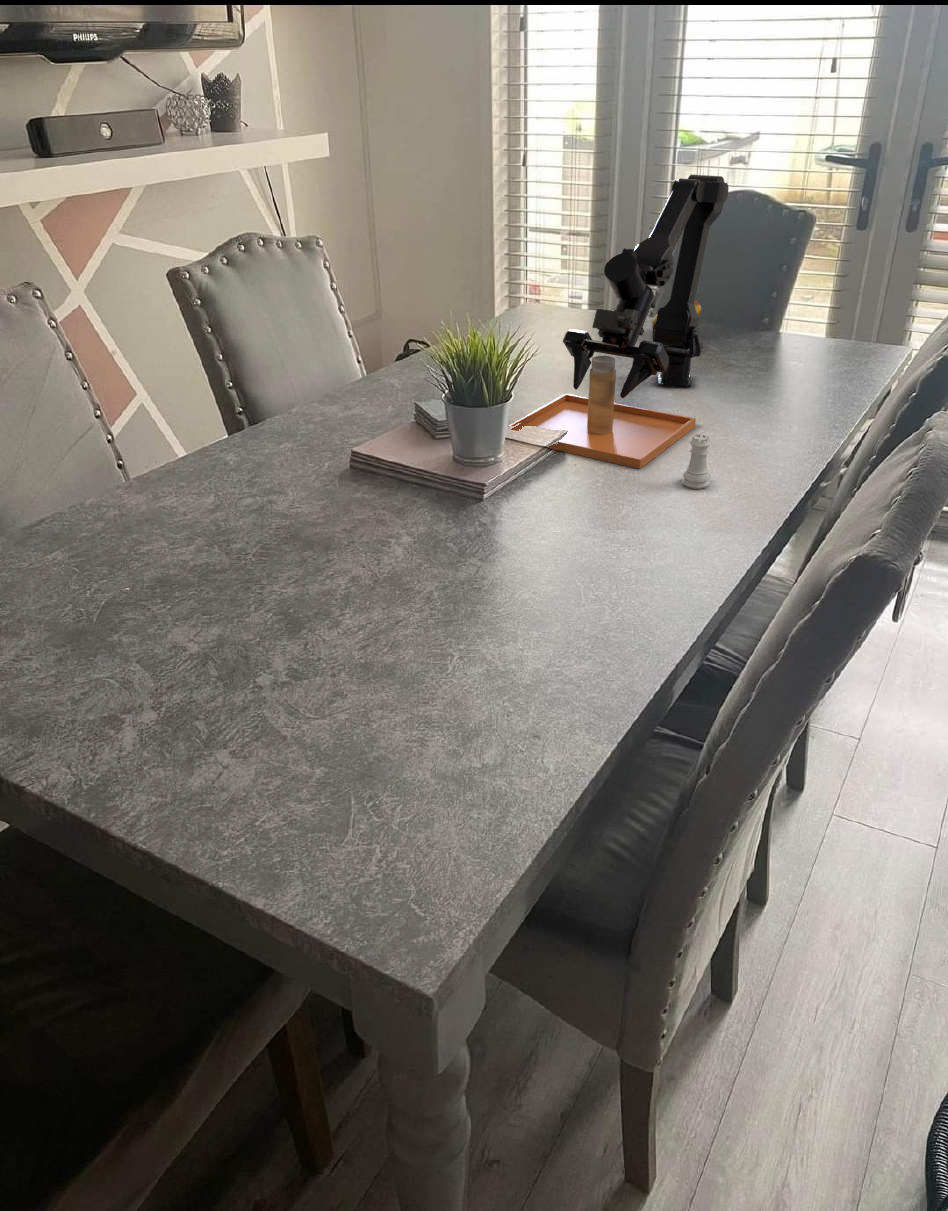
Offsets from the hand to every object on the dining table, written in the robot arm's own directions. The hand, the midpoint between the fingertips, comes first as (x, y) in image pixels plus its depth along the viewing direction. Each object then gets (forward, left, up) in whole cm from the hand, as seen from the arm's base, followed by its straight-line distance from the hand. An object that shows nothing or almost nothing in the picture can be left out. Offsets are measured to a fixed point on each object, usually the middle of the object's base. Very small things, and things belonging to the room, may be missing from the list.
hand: (598, 392), depth 169 cm
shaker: (-1, +1, -7) cm, 7 cm away
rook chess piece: (+20, +18, -8) cm, 28 cm away
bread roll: (-66, +12, -4) cm, 67 cm away
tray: (-1, +1, -8) cm, 8 cm away
